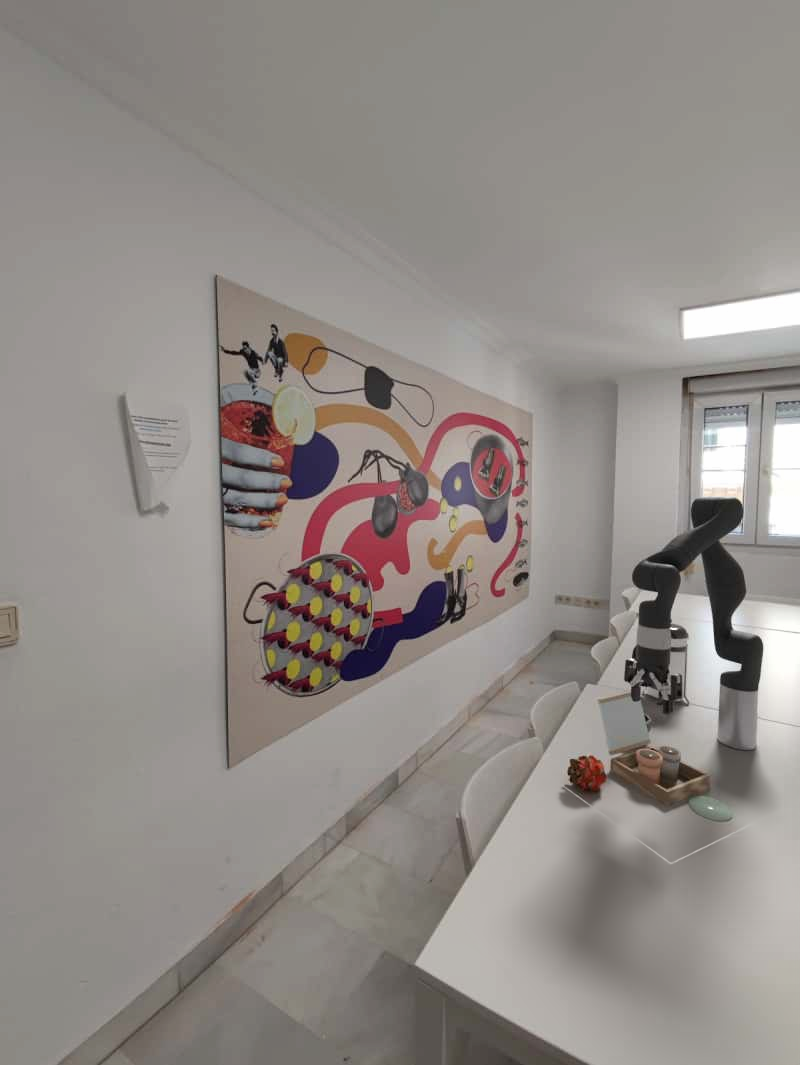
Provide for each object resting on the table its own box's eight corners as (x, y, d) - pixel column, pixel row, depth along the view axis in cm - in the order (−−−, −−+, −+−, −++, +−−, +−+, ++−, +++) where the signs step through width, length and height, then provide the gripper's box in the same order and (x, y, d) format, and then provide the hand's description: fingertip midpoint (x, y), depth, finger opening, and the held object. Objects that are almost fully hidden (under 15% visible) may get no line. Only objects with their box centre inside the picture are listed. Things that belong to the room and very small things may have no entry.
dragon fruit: (570, 802, 115) (593, 789, 124) (600, 794, 111) (622, 781, 119) (554, 765, 119) (577, 755, 128) (582, 755, 115) (604, 746, 123)
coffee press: (648, 687, 184) (651, 610, 182) (695, 699, 172) (698, 617, 170) (629, 699, 172) (632, 617, 170) (678, 714, 161) (682, 626, 159)
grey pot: (665, 768, 127) (666, 743, 127) (684, 778, 123) (685, 752, 122) (652, 772, 125) (653, 747, 125) (671, 783, 120) (672, 757, 120)
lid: (650, 742, 132) (648, 742, 133) (638, 690, 135) (636, 690, 136) (611, 755, 126) (609, 754, 126) (600, 699, 129) (597, 699, 130)
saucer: (703, 795, 116) (703, 792, 116) (740, 815, 108) (740, 812, 108) (680, 804, 112) (681, 801, 112) (717, 826, 105) (717, 823, 105)
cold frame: (630, 747, 139) (632, 705, 138) (709, 789, 118) (711, 741, 118) (590, 759, 132) (591, 716, 131) (667, 806, 111) (669, 755, 111)
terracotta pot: (645, 774, 124) (646, 746, 124) (666, 786, 119) (667, 757, 119) (630, 779, 122) (631, 751, 121) (651, 792, 117) (652, 762, 116)
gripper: (691, 649, 113) (688, 716, 114) (638, 634, 126) (636, 694, 127) (670, 653, 110) (667, 722, 111) (618, 637, 123) (616, 699, 124)
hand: (651, 707), depth 119 cm, fingers open, 8 cm apart
